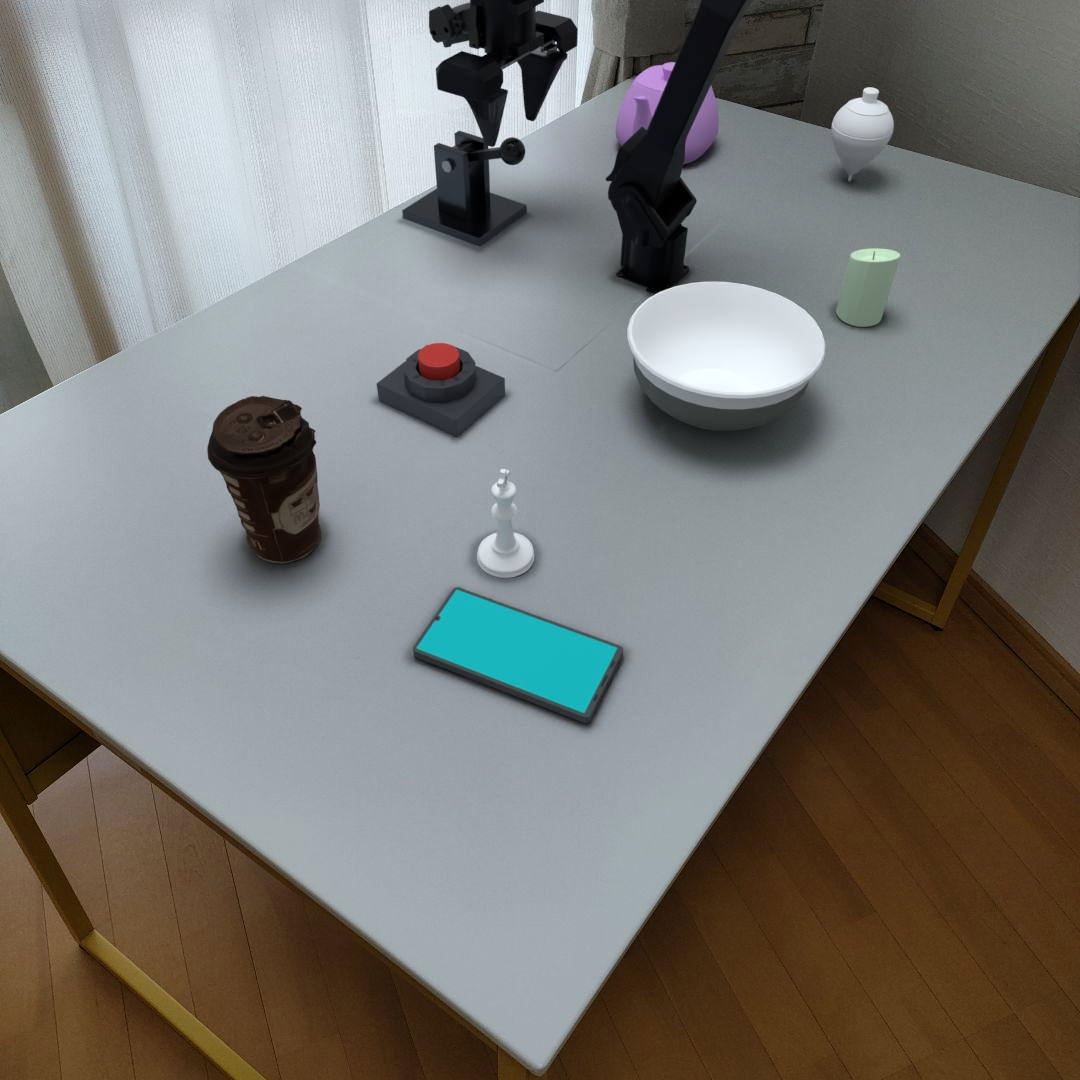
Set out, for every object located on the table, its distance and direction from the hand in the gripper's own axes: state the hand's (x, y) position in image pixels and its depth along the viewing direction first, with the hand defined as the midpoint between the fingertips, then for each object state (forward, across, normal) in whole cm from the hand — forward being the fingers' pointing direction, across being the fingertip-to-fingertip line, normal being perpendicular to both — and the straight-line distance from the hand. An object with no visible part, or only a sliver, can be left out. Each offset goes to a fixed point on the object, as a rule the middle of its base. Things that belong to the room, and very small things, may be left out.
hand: (510, 132), depth 113 cm
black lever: (+5, 0, -3) cm, 6 cm away
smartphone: (+13, +52, +37) cm, 65 cm away
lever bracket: (+13, 0, -8) cm, 15 cm away
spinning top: (+13, -37, +29) cm, 49 cm away
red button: (+9, +30, +12) cm, 34 cm away
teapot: (+13, -31, +4) cm, 34 cm away
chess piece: (+13, +44, +30) cm, 55 cm away
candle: (+13, -8, +42) cm, 44 cm away
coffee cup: (+13, +53, +13) cm, 56 cm away
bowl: (+13, +15, +35) cm, 41 cm away
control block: (+13, +30, +12) cm, 35 cm away
